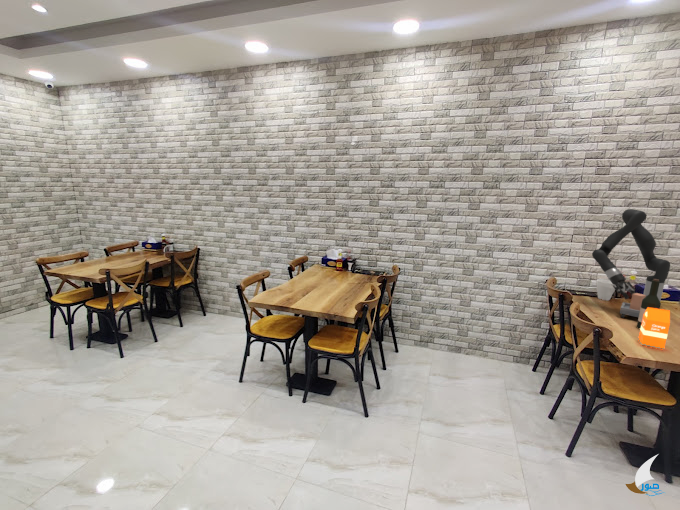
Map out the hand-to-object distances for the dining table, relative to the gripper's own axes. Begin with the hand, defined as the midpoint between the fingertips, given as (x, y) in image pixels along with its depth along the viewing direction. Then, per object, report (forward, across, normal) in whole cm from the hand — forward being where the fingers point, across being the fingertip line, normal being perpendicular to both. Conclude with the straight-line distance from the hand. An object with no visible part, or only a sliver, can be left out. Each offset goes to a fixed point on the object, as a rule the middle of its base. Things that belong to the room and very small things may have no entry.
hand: (631, 297), depth 207 cm
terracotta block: (+7, 0, +2) cm, 7 cm away
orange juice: (+29, -34, -12) cm, 47 cm away
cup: (-10, +21, +28) cm, 37 cm away
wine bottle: (+20, -13, -2) cm, 24 cm away
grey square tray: (+11, 0, +6) cm, 13 cm away
